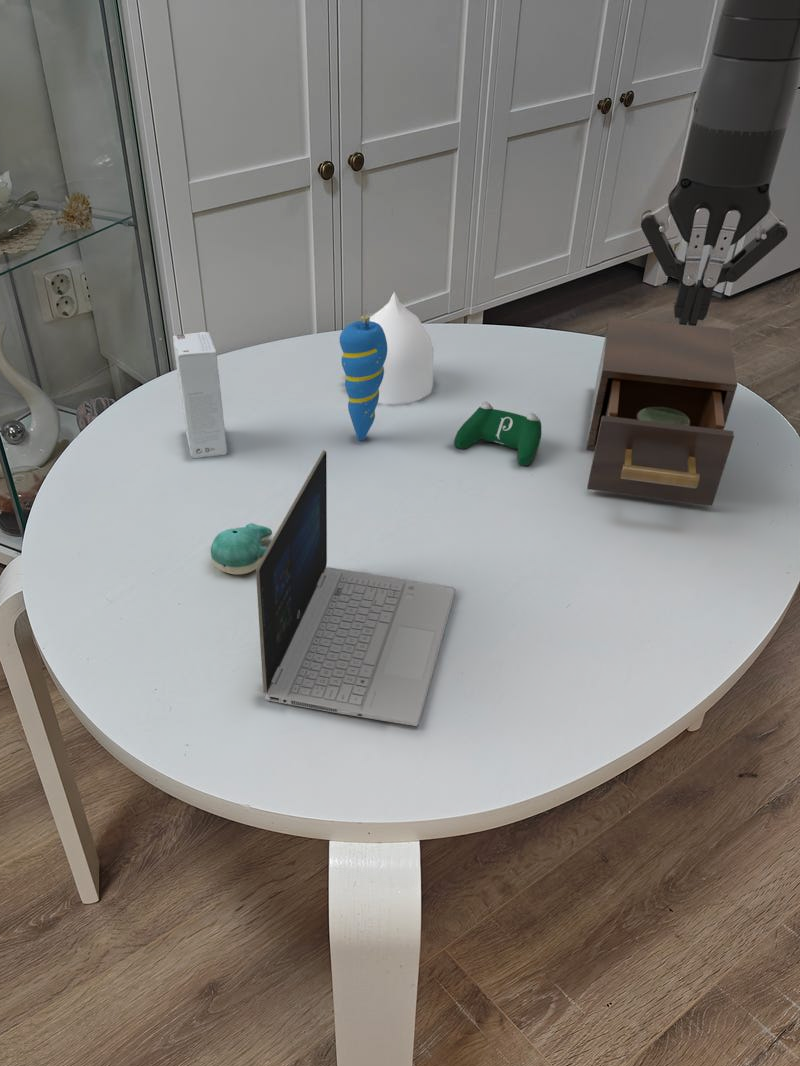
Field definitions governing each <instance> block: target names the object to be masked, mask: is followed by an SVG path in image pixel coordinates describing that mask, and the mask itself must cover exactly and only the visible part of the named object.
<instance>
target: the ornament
mask: <svg viewBox="0 0 800 1066" xmlns="http://www.w3.org/2000/svg"><path fill="white" fill-rule="evenodd" d="M366 312H367V309H365V310H364V314H363V315H361V316H360V320H358V321H353V322H351V323H349V324H348V325H347V326H345V327H344V328H343V329H342V331H341V332H340V334H339V345H340V348H341V351H342V355H341V359H340V360H341V366H342V369H343V371H344V374H345V381H344V386H345V390H346V394H347V397H348V403H347V408H348V409H347V410H348V414H349V417H350V421H351V423H352V426H353V429H354V430H353V431H354V432H355V437H356V439H357V441H358V442H363V441H365V439H366V437H367V435H368V433H369V431H370V429H371V428H372V426H373V424H374V422H375V418H376V408H377V406H378V404H379V403H378V399H379V387H380V385H381V382H382V380H383V377H384V367H383V365H384V362H385V360H386V356H387V341H386V336H385V333H384V331H383V329H382V327H381V326H380V325H379V324H378V323H375V322H372V321H370V317H371V316H370V315H368V314H366Z"/></svg>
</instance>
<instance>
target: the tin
mask: <svg viewBox="0 0 800 1066" xmlns="http://www.w3.org/2000/svg"><path fill="white" fill-rule="evenodd" d="M635 419H636V420H644V421H653V422H661V423H669V424H678V425H686V426H690V422H691V421H690V418H689V417H688V416H687V415H686V414H684V413H683V412H680V411H678V410H675V409H672V408H667V407H657V406H656V407H647V408H643V409H641V410H639V411H638V412H637V414H636V418H635Z"/></svg>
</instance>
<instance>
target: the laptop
mask: <svg viewBox="0 0 800 1066" xmlns="http://www.w3.org/2000/svg"><path fill="white" fill-rule="evenodd" d="M327 479H328V478H327V451H326V450H325V449H323V450H322V451H321V453H320V455H319V457H318V458H317V460H316V462H315V463H314V465H313V467H312V469H311V471H310V472H309V474H308V475H307V478H306V479H305V481H304V482H303V485H302V486H301V489H300V490H299V492H298V493H297V495H296V497H295V499H294V501H293V502H292V504H291V506H290V507H289V509H288V511H287V512H286V515H285V516H284V518H283V520H282V521H281V523H280V525H279V527H278V529H277V531H276V532H275V534H274V536H273V537H272V539H271V541H270V543H269V545H268V546H267V547H268V548H267V550H266V552H265V553H264V555H263V557H262V559H261V560H260V562H259V564H258V566H257V568H256V569H255V576H256V577H255V578H256V594H257V595H256V596H257V612H258V613H257V614H258V626H259V643H260V645H259V646H260V659H261V660H260V662H261V675H262V676H261V677H262V691H263V692H262V693H263V694H265V693H266V695H265V700H266V701H270V702H274V703H279V704H285V705H290V706H296V707H301V708H307V709H311V710H319V711H323V712H330V713H336V714H340V715H347V716H353V717H358V718H363V719H364V718H365V719H371V720H375V721H376V720H377V721H383V722H388V723H396V724H401V725H407V726H414V727H418V726H419V724H420V721H421V717H422V714H423V710H424V706H425V702H426V699H427V697H428V691H429V688H430V685H431V681H432V677H433V674H434V670H435V666H436V663H437V659H438V655H439V652H440V648H441V645H442V642H443V638H444V634H445V630H446V627H447V623H448V620H449V615H450V611H451V609H452V605H453V602H454V598H455V593H456V588H455V587H453V586H449V585H443V584H436V583H430V582H425V581H418V580H417V581H416V580H411V579H406V578H398V577H391V576H385V575H381V574H373V573H368V572H367V573H366V572H361V571H354V570H348V569H341V568H336V567H329V566H327V563H328V531H327V530H328V525H327V523H328V518H327V515H328V514H327V511H328V509H327V508H328V507H327V506H328V504H327V503H328V502H327V501H328V498H327V495H328V493H327V491H328V489H327V487H328V486H327V484H328V483H327V482H328V481H327Z"/></svg>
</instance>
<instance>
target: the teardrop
mask: <svg viewBox="0 0 800 1066" xmlns="http://www.w3.org/2000/svg"><path fill="white" fill-rule="evenodd" d="M369 317H370V321H372V322H375V323H378V324H379V325H380V326H381V327H382V329H383V331H384V333H385V336H386V341H387V356H386V360H385V362H384V365H383V367H384V377H383V380H382V382H381V385H380V387H379V399H378V403H377V404H385V405H402V404H403V405H404V404H410V403H414V402H418V401H420V400H421V399H424V398H425V397H427V396H428V395H430V394H431V393H432V390H433V388H434V352H435V351H434V346H433V342H432V338H431V336H430V334H429V332H428V331H427V330H426V328H425V326H424V325H423V323H422V322H421V320H420V319H419V317H418V316H417V315H416V314H414V313H413V312H412V311H409V309H408V308H407V307H405V306H404V305H403V303H401V302H400V300H399V298H398V296H397V293H396V292H395V291H393V293H392V295H391V297H390V299H389V301H388V302H387V303H386V304H385V305H384V306H383V307H382V308H381V309H379V310H378V311H376V312H375V313H374V314H372V315H371V316H369Z"/></svg>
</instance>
